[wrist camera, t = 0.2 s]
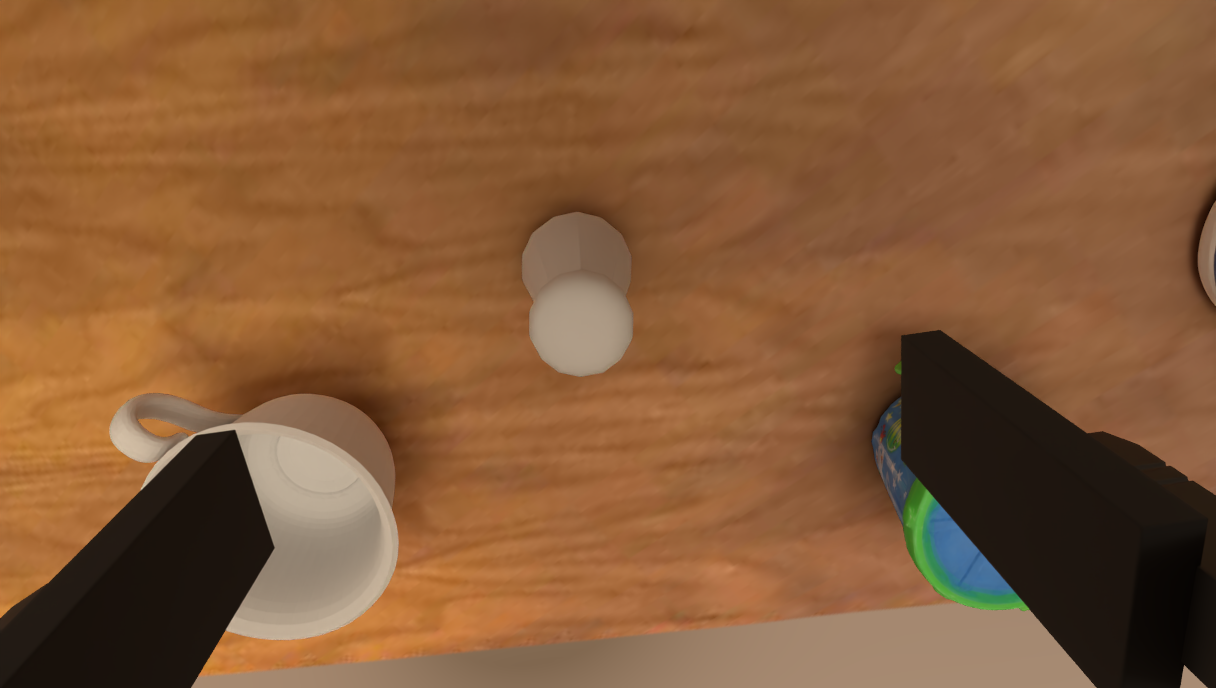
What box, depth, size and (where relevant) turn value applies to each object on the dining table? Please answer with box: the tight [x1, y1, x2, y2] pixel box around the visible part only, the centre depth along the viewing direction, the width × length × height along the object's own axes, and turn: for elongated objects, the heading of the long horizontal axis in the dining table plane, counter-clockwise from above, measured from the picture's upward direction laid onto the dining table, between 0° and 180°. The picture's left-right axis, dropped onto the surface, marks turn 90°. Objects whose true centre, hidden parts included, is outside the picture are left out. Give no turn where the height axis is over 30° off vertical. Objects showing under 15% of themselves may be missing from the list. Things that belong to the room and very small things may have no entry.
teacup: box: [110, 393, 399, 640], centre depth 40 cm, size 12×15×10 cm
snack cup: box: [871, 361, 1030, 611], centre depth 42 cm, size 16×10×10 cm
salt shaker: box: [522, 212, 633, 377], centre depth 36 cm, size 6×6×13 cm
